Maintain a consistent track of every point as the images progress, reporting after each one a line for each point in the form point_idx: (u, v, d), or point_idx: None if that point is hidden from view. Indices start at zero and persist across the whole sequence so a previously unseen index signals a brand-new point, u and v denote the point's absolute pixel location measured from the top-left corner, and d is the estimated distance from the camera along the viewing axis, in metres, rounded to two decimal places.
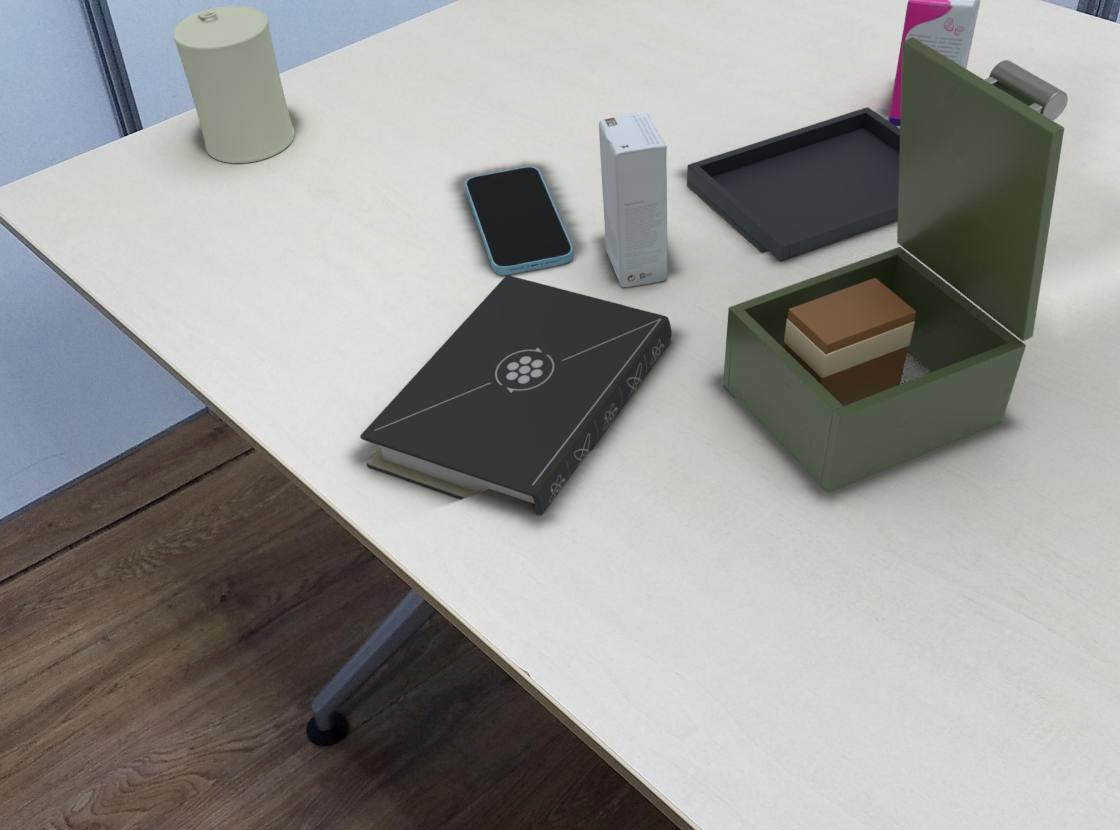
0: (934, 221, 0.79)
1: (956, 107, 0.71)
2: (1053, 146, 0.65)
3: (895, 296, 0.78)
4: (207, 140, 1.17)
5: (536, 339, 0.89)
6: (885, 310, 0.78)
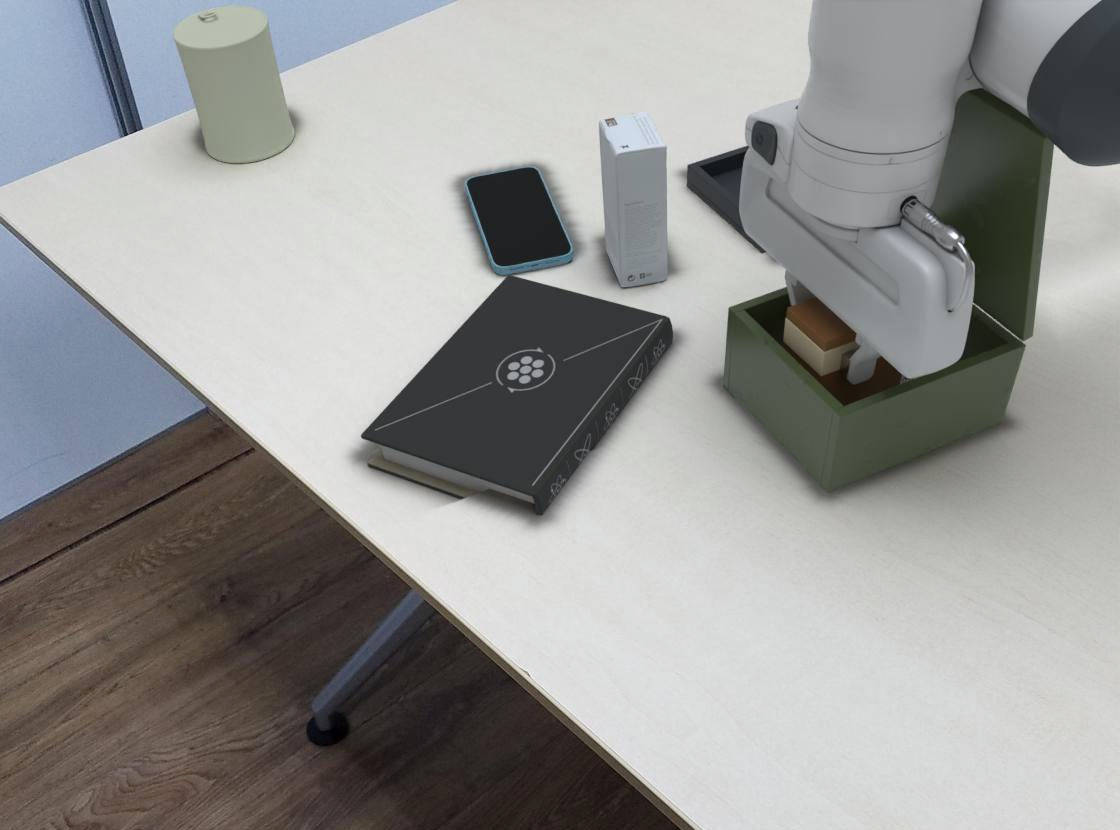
0: None
1: None
2: (1045, 151, 0.65)
3: None
4: (207, 140, 1.17)
5: (537, 339, 0.89)
6: None
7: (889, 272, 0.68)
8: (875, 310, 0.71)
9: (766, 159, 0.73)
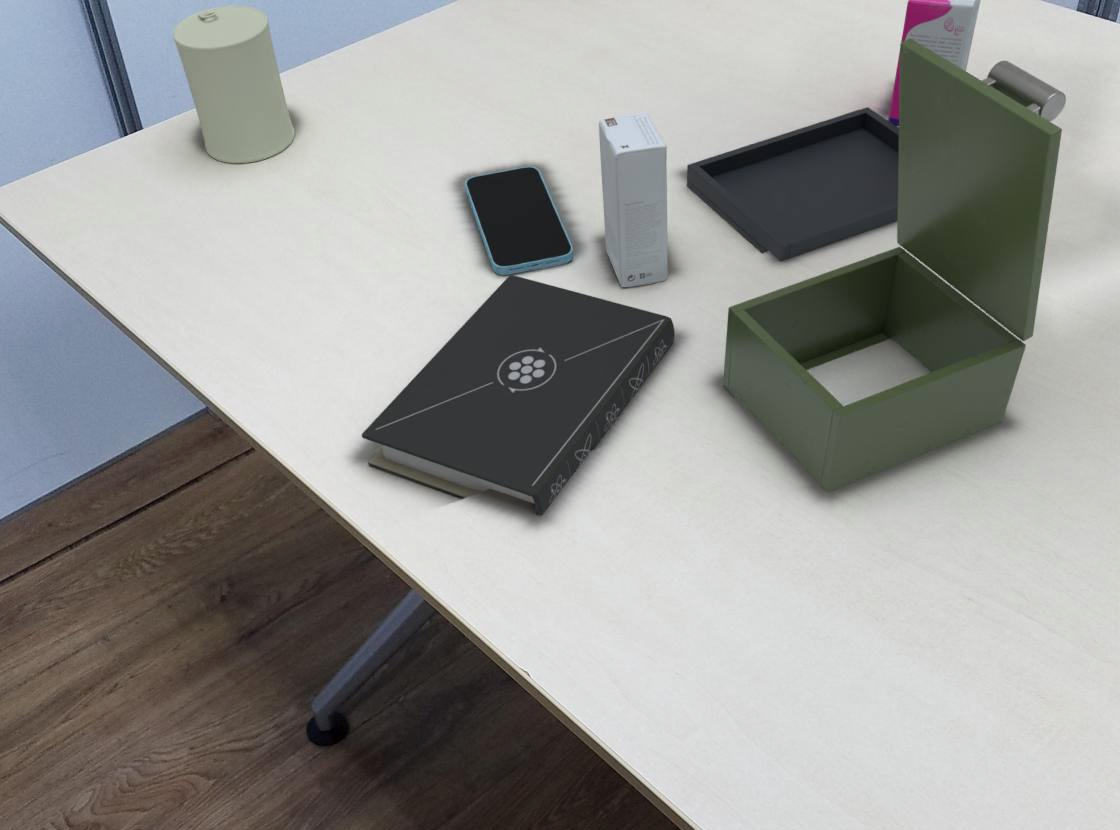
0: (934, 221, 0.79)
1: (954, 108, 0.71)
2: (1051, 147, 0.65)
3: None
4: (207, 140, 1.17)
5: (539, 339, 0.89)
6: None
7: None
8: None
9: None
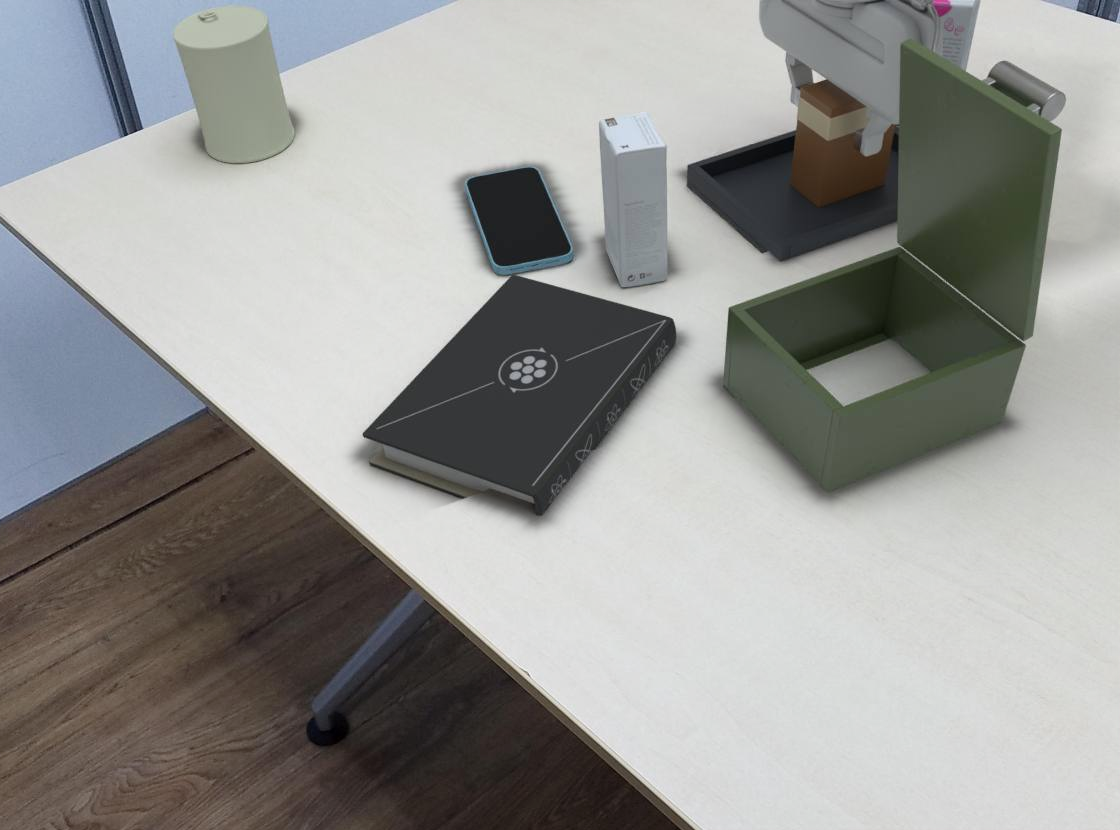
0: (934, 221, 0.79)
1: (954, 108, 0.71)
2: (1051, 147, 0.65)
3: None
4: (207, 140, 1.17)
5: (540, 339, 0.89)
6: None
7: (877, 36, 0.88)
8: (867, 72, 0.91)
9: None
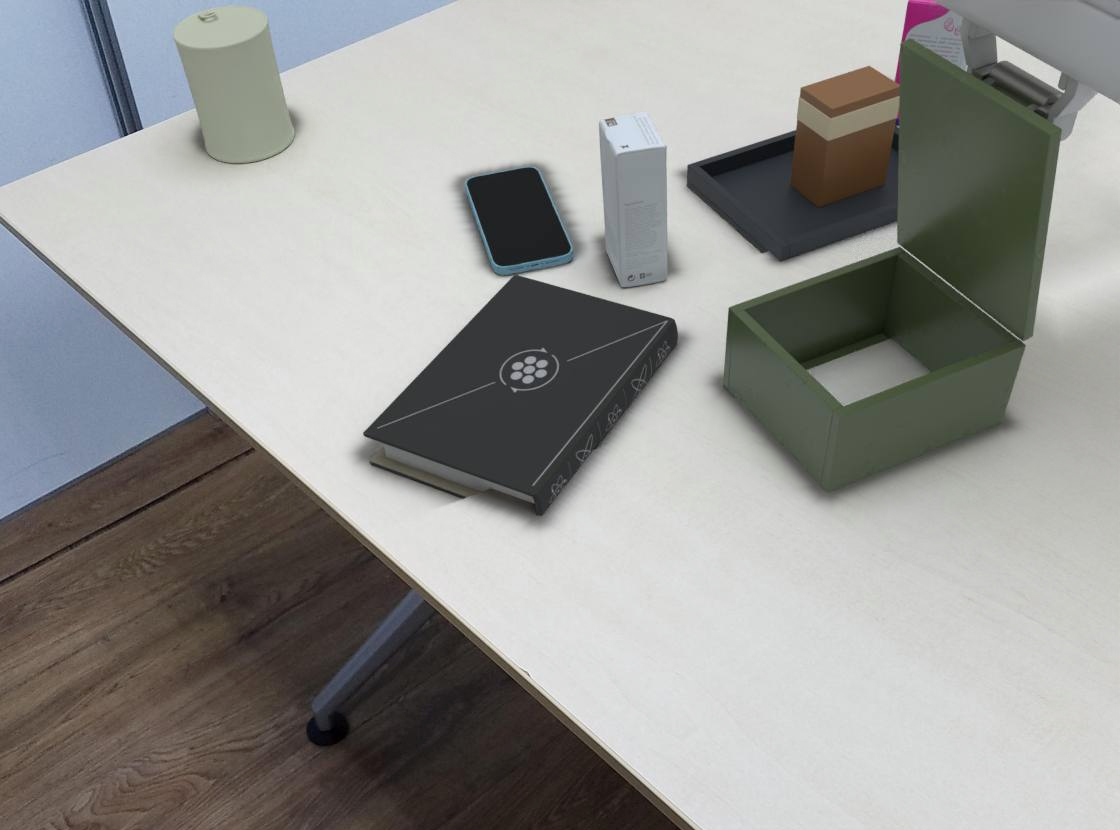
0: (934, 221, 0.79)
1: (954, 108, 0.71)
2: (1051, 147, 0.65)
3: (885, 77, 0.98)
4: (207, 140, 1.17)
5: (542, 339, 0.89)
6: (877, 86, 0.98)
7: None
8: (1090, 33, 0.63)
9: None
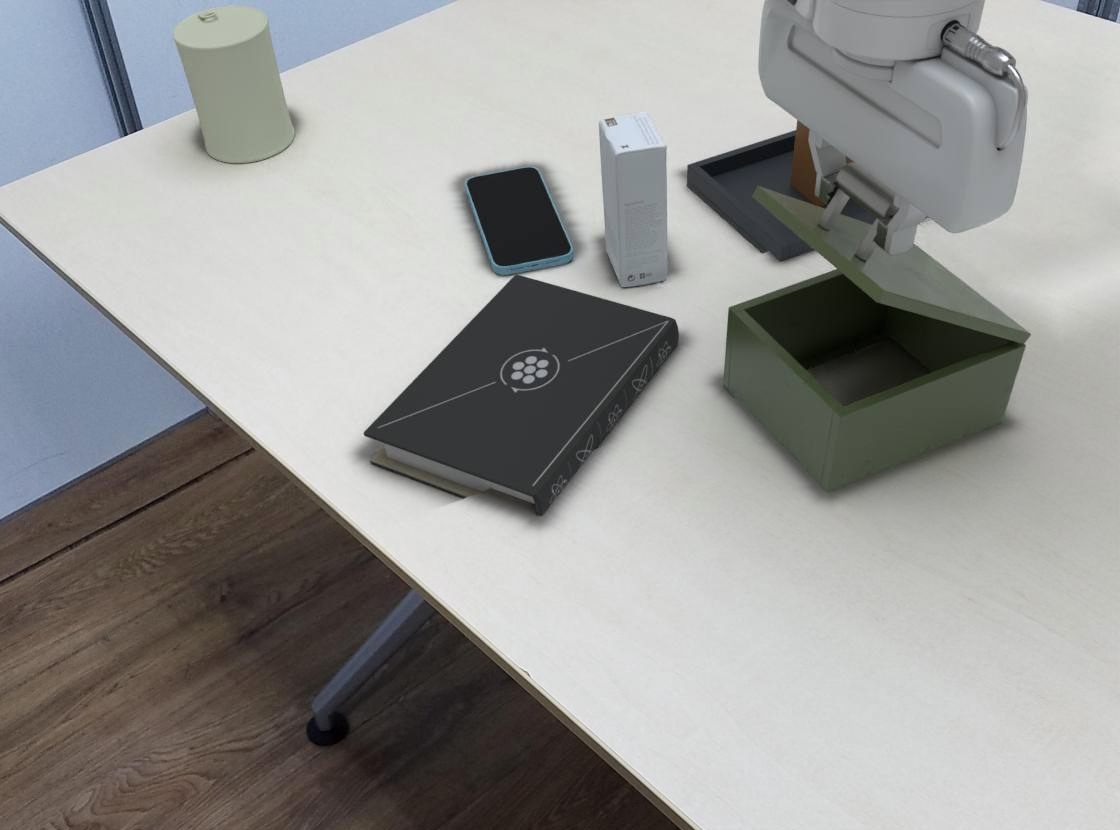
0: None
1: None
2: (887, 302, 0.69)
3: None
4: (207, 140, 1.17)
5: (543, 339, 0.89)
6: None
7: (930, 110, 0.61)
8: (914, 158, 0.63)
9: None
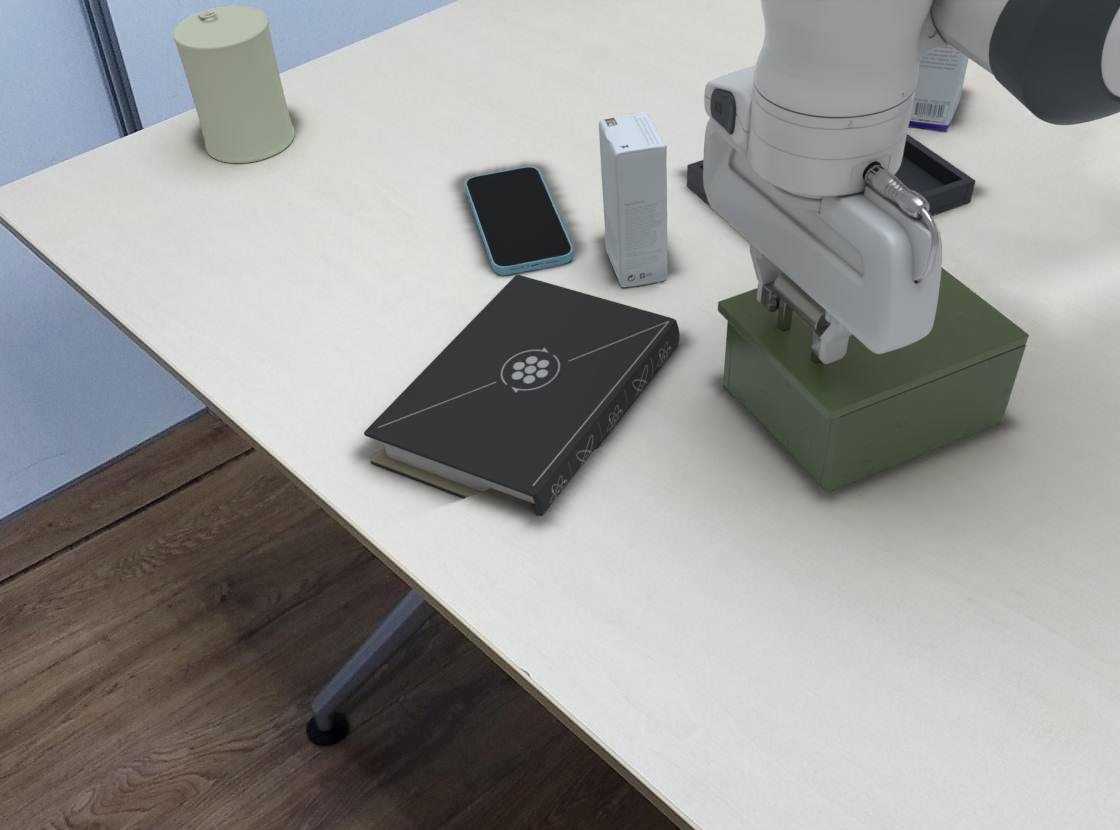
0: None
1: None
2: (841, 414, 0.74)
3: None
4: (207, 140, 1.17)
5: (543, 339, 0.89)
6: None
7: (853, 242, 0.65)
8: (841, 283, 0.68)
9: (726, 128, 0.70)
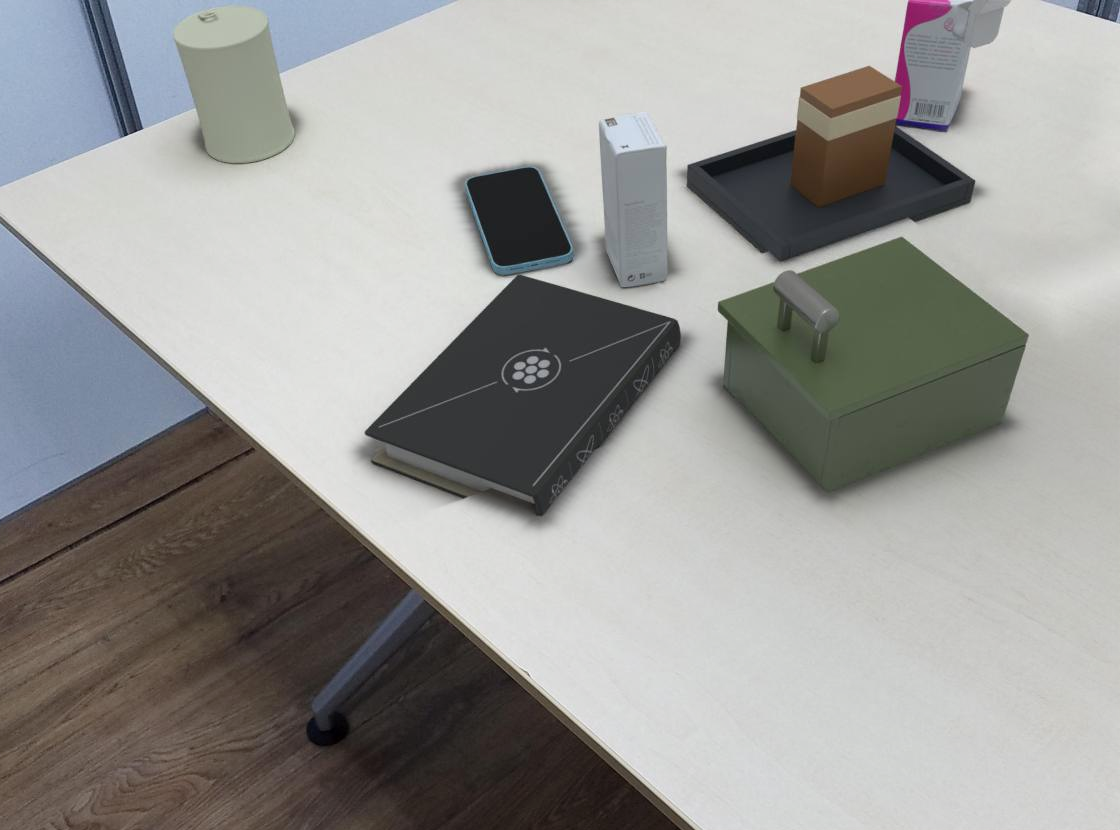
0: None
1: None
2: (841, 414, 0.74)
3: (885, 77, 0.98)
4: (207, 140, 1.17)
5: (544, 339, 0.89)
6: (877, 86, 0.98)
7: None
8: None
9: None
